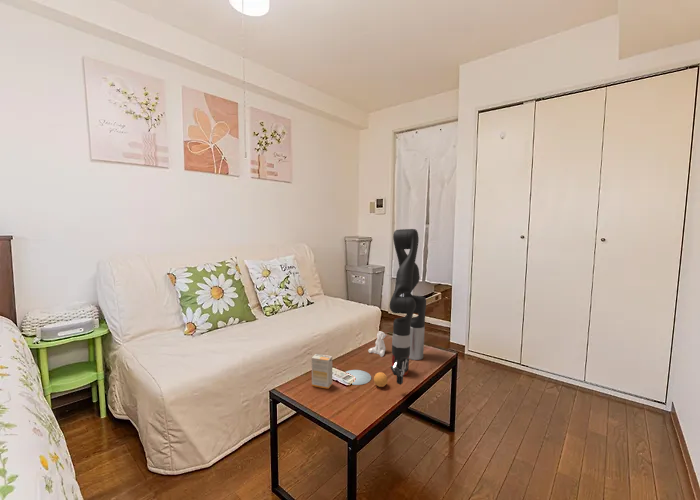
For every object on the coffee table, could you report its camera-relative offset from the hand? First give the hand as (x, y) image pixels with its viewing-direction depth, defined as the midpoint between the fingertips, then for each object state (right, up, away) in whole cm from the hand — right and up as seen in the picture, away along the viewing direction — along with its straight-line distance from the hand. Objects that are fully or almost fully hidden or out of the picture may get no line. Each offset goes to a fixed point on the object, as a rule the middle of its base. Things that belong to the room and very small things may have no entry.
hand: (399, 383), depth 137 cm
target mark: (-18, -3, +14) cm, 23 cm away
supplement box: (-33, -4, +6) cm, 34 cm away
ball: (-8, -1, +6) cm, 10 cm away
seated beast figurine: (-5, -1, +42) cm, 43 cm away
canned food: (+3, -3, +19) cm, 20 cm away
